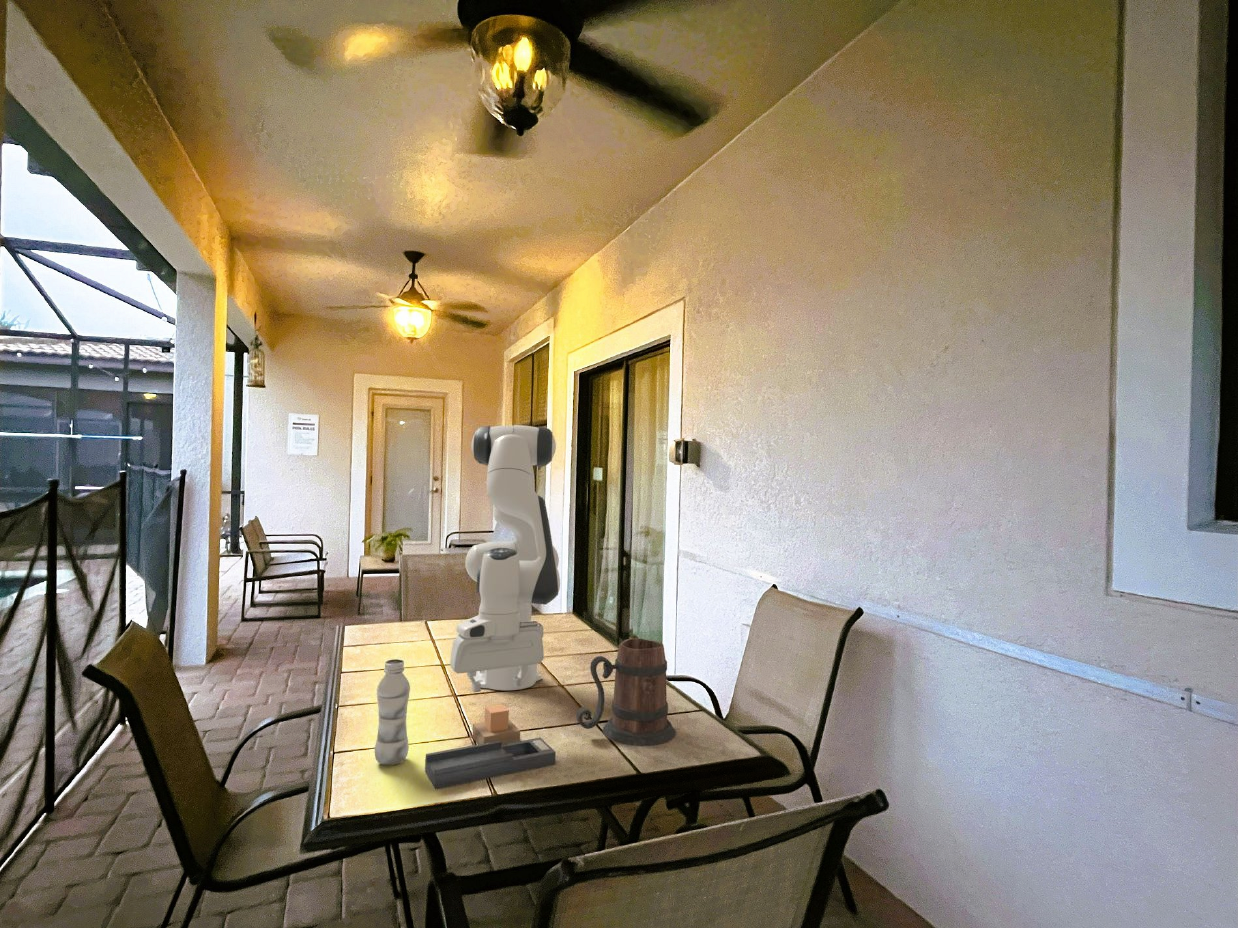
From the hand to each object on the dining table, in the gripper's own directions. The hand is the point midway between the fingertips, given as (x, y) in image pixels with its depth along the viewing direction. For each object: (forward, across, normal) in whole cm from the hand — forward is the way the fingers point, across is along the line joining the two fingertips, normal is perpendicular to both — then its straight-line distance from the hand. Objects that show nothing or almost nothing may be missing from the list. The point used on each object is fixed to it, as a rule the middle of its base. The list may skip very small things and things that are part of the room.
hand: (497, 688), depth 143 cm
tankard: (+12, -28, +7) cm, 31 cm away
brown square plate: (+12, 0, -1) cm, 12 cm away
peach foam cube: (+8, 0, -1) cm, 9 cm away
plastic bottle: (+12, +22, 0) cm, 25 cm away
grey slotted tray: (+12, +5, +11) cm, 17 cm away
